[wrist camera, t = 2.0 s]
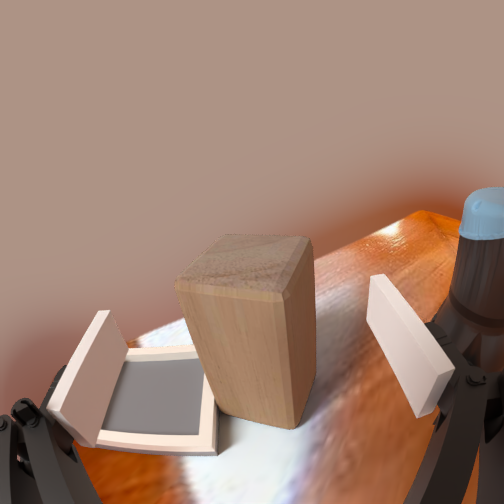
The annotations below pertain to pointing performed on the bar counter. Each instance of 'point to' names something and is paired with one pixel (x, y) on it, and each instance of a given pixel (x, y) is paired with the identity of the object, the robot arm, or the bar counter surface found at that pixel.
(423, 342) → the robot arm
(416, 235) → the bar counter surface
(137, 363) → the locating plate
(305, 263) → the wooden block
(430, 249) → the bar counter surface
